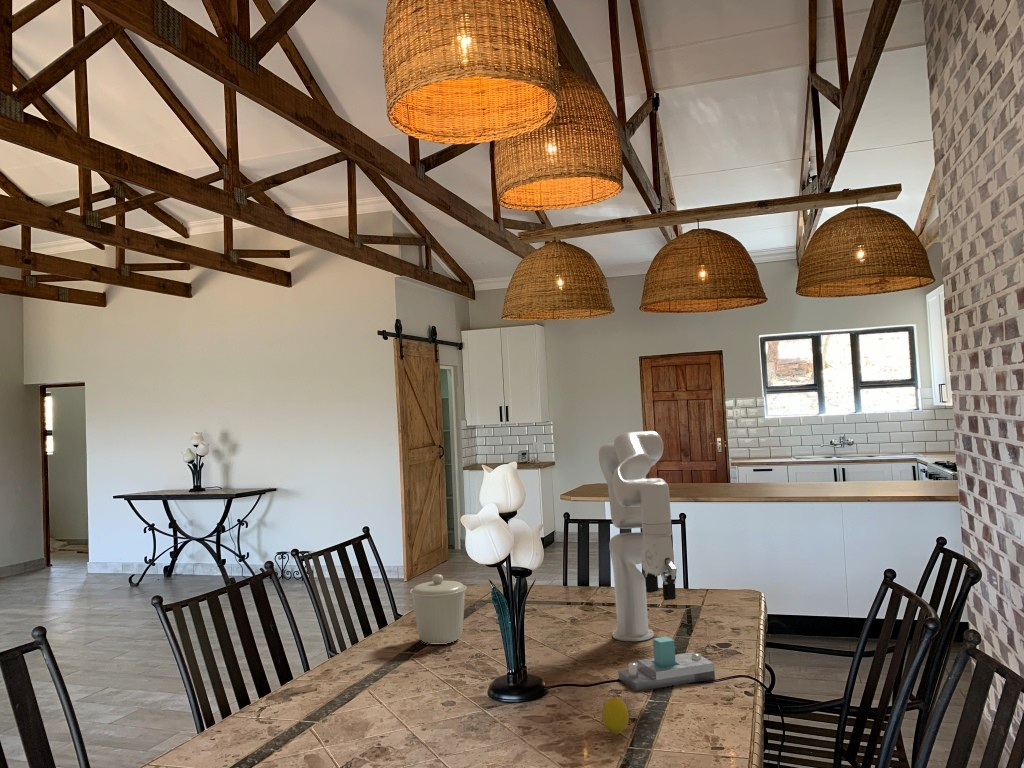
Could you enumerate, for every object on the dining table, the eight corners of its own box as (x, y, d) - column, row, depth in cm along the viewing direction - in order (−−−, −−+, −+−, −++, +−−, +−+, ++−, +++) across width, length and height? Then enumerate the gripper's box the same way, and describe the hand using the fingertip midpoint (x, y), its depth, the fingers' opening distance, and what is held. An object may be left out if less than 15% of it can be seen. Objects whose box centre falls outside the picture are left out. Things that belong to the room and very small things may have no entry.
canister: (473, 632, 260) (469, 567, 261) (464, 648, 243) (460, 579, 243) (419, 634, 262) (415, 569, 263) (406, 650, 244) (403, 581, 245)
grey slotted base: (618, 678, 207) (617, 659, 207) (694, 667, 213) (693, 648, 213) (635, 691, 197) (634, 671, 197) (714, 678, 203) (713, 658, 203)
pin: (655, 677, 206) (653, 638, 207) (669, 675, 208) (666, 636, 208) (662, 682, 203) (660, 642, 203) (676, 679, 204) (674, 640, 204)
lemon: (601, 730, 173) (599, 693, 174) (626, 728, 174) (624, 691, 174) (606, 741, 168) (604, 702, 168) (632, 738, 168) (630, 700, 169)
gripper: (629, 526, 214) (633, 590, 213) (658, 535, 197) (663, 604, 197) (655, 524, 216) (658, 587, 215) (685, 532, 199) (690, 601, 199)
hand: (660, 595), depth 206 cm, fingers open, 9 cm apart
